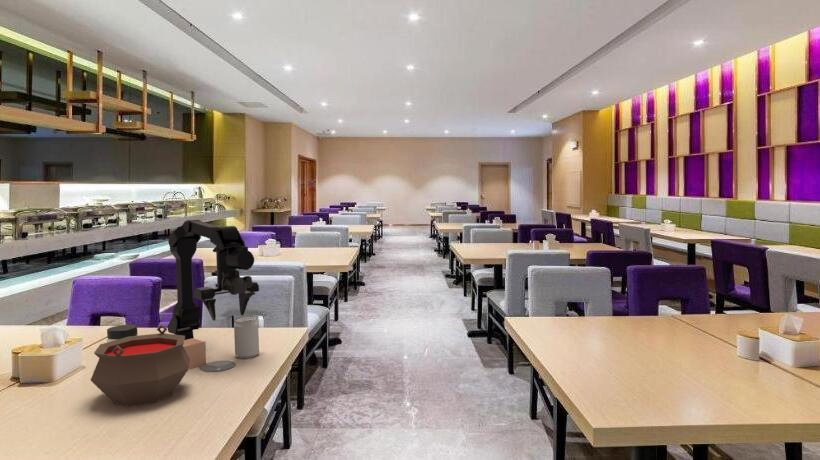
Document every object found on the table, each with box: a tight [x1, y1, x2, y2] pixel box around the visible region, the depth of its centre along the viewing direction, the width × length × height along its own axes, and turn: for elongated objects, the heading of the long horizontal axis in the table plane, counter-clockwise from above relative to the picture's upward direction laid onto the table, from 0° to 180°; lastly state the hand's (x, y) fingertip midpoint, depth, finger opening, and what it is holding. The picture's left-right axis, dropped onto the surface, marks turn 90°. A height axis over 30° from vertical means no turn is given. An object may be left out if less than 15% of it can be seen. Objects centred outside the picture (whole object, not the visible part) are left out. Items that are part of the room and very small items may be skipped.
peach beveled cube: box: [183, 338, 207, 370], centre depth 163 cm, size 7×7×7 cm
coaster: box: [199, 359, 236, 373], centre depth 161 cm, size 10×10×1 cm
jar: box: [106, 324, 139, 343], centre depth 163 cm, size 9×8×12 cm
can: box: [233, 316, 260, 359], centre depth 172 cm, size 8×8×12 cm
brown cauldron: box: [90, 323, 190, 407], centre depth 138 cm, size 24×24×16 cm
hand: (228, 317), depth 164 cm, fingers open, 9 cm apart
